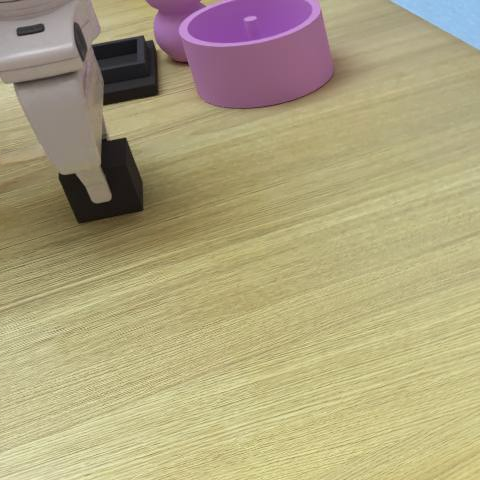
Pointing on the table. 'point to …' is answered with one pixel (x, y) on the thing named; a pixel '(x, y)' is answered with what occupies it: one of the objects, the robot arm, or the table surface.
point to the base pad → (127, 68)
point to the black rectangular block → (120, 180)
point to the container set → (247, 48)
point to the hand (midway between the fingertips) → (103, 175)
